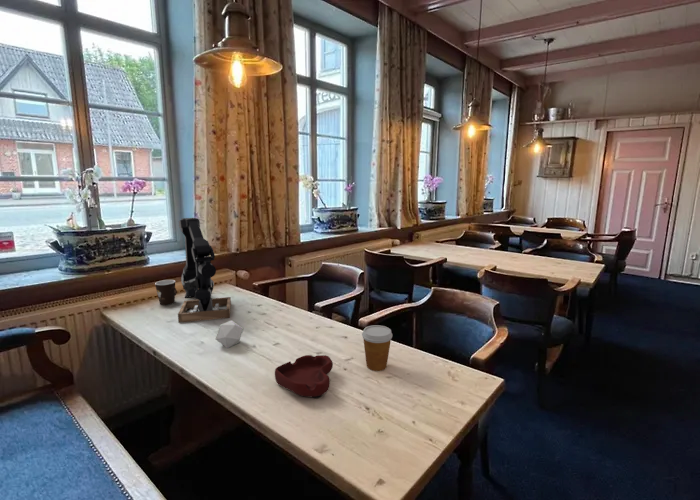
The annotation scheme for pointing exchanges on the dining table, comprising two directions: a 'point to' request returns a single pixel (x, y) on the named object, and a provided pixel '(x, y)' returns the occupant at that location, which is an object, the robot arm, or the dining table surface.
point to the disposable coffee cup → (377, 346)
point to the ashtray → (306, 375)
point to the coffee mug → (166, 291)
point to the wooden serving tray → (204, 314)
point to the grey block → (209, 308)
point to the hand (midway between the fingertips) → (206, 307)
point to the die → (229, 333)
